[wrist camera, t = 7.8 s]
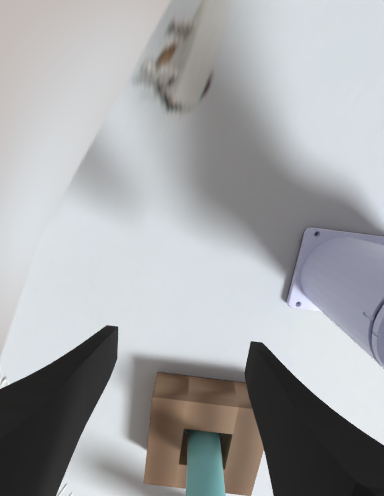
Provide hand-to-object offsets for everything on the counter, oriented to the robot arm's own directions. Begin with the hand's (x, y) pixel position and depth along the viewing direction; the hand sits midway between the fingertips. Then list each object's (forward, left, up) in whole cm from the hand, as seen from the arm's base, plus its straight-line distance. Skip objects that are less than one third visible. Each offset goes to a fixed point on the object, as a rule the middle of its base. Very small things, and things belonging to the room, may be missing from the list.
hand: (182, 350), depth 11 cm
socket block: (-4, +17, -10) cm, 20 cm away
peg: (-4, +17, -10) cm, 20 cm away
